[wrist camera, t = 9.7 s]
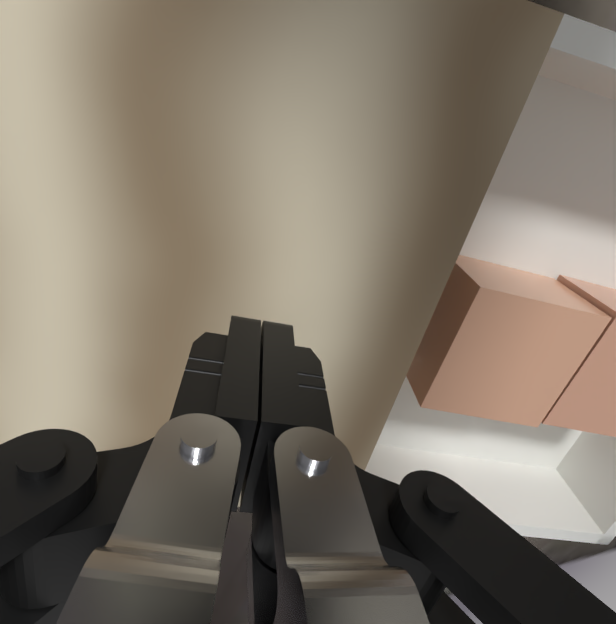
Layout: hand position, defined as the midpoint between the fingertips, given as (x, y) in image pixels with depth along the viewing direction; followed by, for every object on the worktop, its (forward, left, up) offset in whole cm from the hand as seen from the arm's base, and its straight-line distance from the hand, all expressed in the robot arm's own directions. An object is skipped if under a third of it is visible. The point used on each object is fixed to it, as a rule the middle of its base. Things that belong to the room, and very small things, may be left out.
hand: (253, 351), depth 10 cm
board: (+2, -1, -5) cm, 6 cm away
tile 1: (-8, 0, -5) cm, 9 cm away
